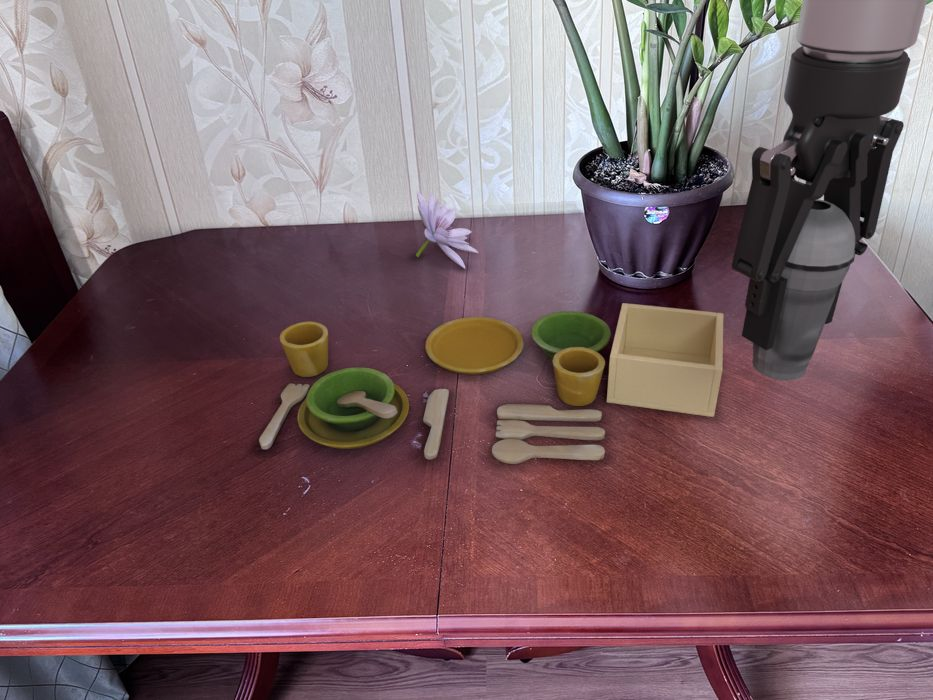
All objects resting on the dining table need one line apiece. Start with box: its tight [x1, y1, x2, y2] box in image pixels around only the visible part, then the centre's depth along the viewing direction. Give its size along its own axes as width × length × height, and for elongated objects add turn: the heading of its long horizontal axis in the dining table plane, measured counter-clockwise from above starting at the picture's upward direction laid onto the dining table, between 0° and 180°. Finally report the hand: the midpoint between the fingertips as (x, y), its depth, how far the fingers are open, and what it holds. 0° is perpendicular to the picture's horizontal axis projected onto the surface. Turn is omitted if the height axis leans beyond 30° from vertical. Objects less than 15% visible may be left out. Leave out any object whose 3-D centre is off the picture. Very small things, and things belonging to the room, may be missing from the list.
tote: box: [606, 302, 724, 418], centre depth 87 cm, size 12×12×7 cm
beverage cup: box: [751, 181, 856, 382], centre depth 60 cm, size 7×7×20 cm
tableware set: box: [258, 310, 612, 465], centre depth 89 cm, size 41×28×6 cm
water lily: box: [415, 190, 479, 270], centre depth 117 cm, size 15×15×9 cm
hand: (787, 328), depth 63 cm, fingers closed on beverage cup, 6 cm apart
